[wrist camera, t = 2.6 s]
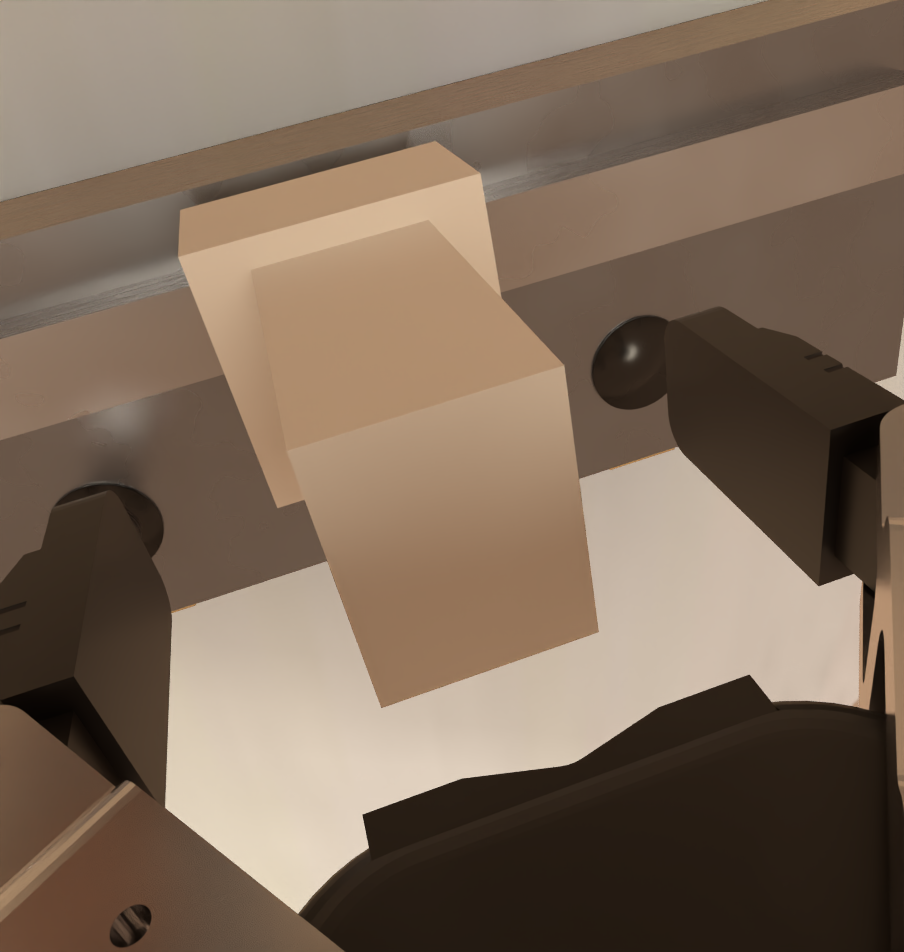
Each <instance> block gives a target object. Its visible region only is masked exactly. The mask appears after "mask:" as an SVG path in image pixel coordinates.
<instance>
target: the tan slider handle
mask: <svg viewBox="0 0 904 952" xmlns="http://www.w3.org/2000/svg"><path fill="white" fill-rule="evenodd" d="M178 258H179V261H180V263H181V266H182V268H183V271H184V273H185V276H186V278H187V281H188V283H189V286H190V289H191V291H192V294H193V296H194V299H195V301H196V304H197V306H198V309H199V311H200V314H201V316H202V319H203V321H204V324H205V326H206V329H207V331H208V334H209V337H210V339H211V342H212V344H213V347H214V349H215V352H216V354H217V357H218V359H219V362H220V364H221V367H222V369H223V372H224V374H225V377H226V379H227V382H228V385H229V387H230V390H231V392H232V395H233V397H234V400H235V402H236V405H237V407H238V410H239V412H240V415H241V417H242V420H243V422H244V425H245V427H246V430H247V433H248V435H249V438H250V440H251V443H252V445H253V448H254V450H255V453H256V455H257V458H258V460H259V463H260V465H261V468H262V470H263V473H264V475H265V478H266V480H267V483H268V486H269V488H270V491H271V493H272V496H273V498H274V501H275V503H276V506H277V508H280V507H283V506H286V505H289V504H293V503H296V502H299V501H302V500H305V502H306V505H307V508H308V510H309V513H310V516H311V518H312V521H313V524H314V527H315V529H316V532H317V535H318V537H319V540H320V543H321V546H322V548H323V551H324V554H325V556H326V559H327V562H328V564H329V567H330V570H331V573H332V575H333V578H334V581H335V583H336V586H337V589H338V592H339V594H340V597H341V600H342V602H343V605H344V608H345V611H346V613H347V616H348V619H349V621H350V624H351V627H352V629H353V632H354V635H355V638H356V640H357V643H358V646H359V648H360V651H361V654H362V657H363V659H364V662H365V665H366V667H367V670H368V673H369V675H370V678H371V681H372V684H373V686H374V689H375V692H376V694H377V697H378V700H379V703H380V705H381V708H383V707H386V706H389V705H391V704H394V703H397V702H400V701H403V700H406V699H409V698H411V697H414V696H417V695H420V694H423V693H426V692H429V691H431V690H434V689H437V688H440V687H443V686H446V685H449V684H451V683H454V682H457V681H460V680H463V679H466V678H469V677H472V676H474V675H477V674H480V673H483V672H486V671H489V670H492V669H494V668H497V667H500V666H503V665H506V664H509V663H512V662H514V661H517V660H520V659H523V658H526V657H529V656H532V655H534V654H537V653H540V652H543V651H546V650H549V649H552V648H554V647H557V646H560V645H563V644H566V643H569V642H572V641H574V640H577V639H580V638H583V637H586V636H589V635H592V634H595V633H597V632H599V631H598V623H597V616H596V608H595V600H594V592H593V584H592V577H591V569H590V561H589V553H588V546H587V538H586V530H585V522H584V515H583V507H582V499H581V491H580V484H579V476H578V468H577V460H576V453H575V445H574V437H573V429H572V422H571V414H570V406H569V398H568V390H567V383H566V375H565V367H564V365H563V363H562V362H561V361H560V360H559V359H558V358H557V357H556V356H555V355H554V354H553V353H552V352H551V351H550V350H549V348H548V347H547V346H546V345H545V344H544V343H543V342H542V341H541V340H540V339H539V338H538V337H537V336H536V335H535V333H534V332H533V331H532V330H531V329H530V328H529V327H528V326H527V325H526V324H525V323H524V322H523V321H522V320H521V318H520V317H519V316H518V315H517V314H516V313H515V312H514V311H513V310H512V309H511V308H510V307H509V306H508V304H507V303H506V302H505V301H504V300H503V299H502V298H501V292H500V286H499V280H498V274H497V268H496V262H495V256H494V250H493V244H492V238H491V232H490V227H489V221H488V215H487V209H486V203H485V197H484V191H483V185H482V179H481V173H480V172H478V171H477V170H475V169H474V168H473V167H471V166H470V165H468V164H467V163H466V162H464V161H463V160H461V159H460V158H459V157H457V156H456V155H454V154H453V153H452V152H450V151H449V150H447V149H446V148H445V147H443V146H442V145H440V144H439V143H438V142H436V141H433V142H430V143H426V144H422V145H419V146H415V147H411V148H407V149H404V150H400V151H396V152H393V153H389V154H385V155H382V156H378V157H374V158H370V159H367V160H363V161H359V162H356V163H352V164H348V165H345V166H341V167H337V168H333V169H330V170H326V171H322V172H319V173H315V174H311V175H308V176H304V177H300V178H296V179H293V180H289V181H285V182H282V183H278V184H274V185H271V186H267V187H263V188H259V189H256V190H252V191H248V192H245V193H241V194H237V195H234V196H230V197H226V198H222V199H219V200H215V201H211V202H208V203H204V204H200V205H197V206H193V207H189V208H185V209H182V210H180V224H179V246H178Z"/></svg>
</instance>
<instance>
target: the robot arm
mask: <svg viewBox="0 0 904 952" xmlns="http://www.w3.org/2000/svg"><path fill="white" fill-rule="evenodd" d="M664 345H665V364H666V383H667V402H668V417H669V423H670V427H671V431H672V434H673V436H674V439H675V441H676V443H677V445H678V447H679V448H680V450H681V451H682V453H683V454H684V455H685V456H686V457H687V458H688V459H689V460H690V461H691V462H692V463H693V464H694V465H695V466H696V467H697V468H698V469H699V470H700V471H701V472H702V473H703V474H704V475H705V476H707V477H708V478H709V479H710V480H711V481H712V482H713V483H714V484H715V485H716V486H717V487H718V488H719V489H720V490H721V491H722V492H723V493H724V494H725V495H726V496H727V497H728V498H729V499H730V500H731V501H732V502H733V503H734V504H735V505H736V506H737V507H738V508H739V509H740V510H741V511H742V512H743V513H744V514H745V515H746V516H747V517H748V518H749V519H750V520H751V521H753V522H754V523H755V524H756V525H757V526H758V527H759V528H760V529H761V530H762V531H763V532H764V533H765V534H766V535H767V536H768V537H769V538H770V539H771V540H772V541H773V542H774V543H775V544H776V545H777V546H778V547H779V548H780V549H781V550H782V551H783V552H784V553H785V554H786V555H787V556H788V557H789V558H790V559H791V560H792V561H793V562H794V563H795V564H796V565H797V566H799V567H800V568H801V569H802V570H803V571H804V572H805V573H806V574H807V575H808V576H809V577H810V578H811V579H812V580H813V581H814V582H815V583H816V584H817V585H818V586H821V585H823V584H826V583H829V582H832V581H835V580H838V579H841V578H843V577H846V576H849V575H852V574H855V575H856V576H857V577H858V578H859V579H861V580H862V587H861V595H860V623H859V707H853V706H847V705H842V704H836V703H826V702H814V701H779V702H771V701H770V700H769V698H768V697H767V696H766V695H765V693H764V692H763V691H762V690H761V688H760V687H759V686H758V685H757V683H756V682H755V681H754V680H753V678H752V677H751V676H750V675H747V676H744V677H741V678H739V679H736V680H733V681H730V682H728V683H725V684H722V685H719V686H717V687H714V688H711V689H708V690H706V691H703V692H700V693H697V694H695V695H692V696H689V697H686V698H683V699H681V700H678V701H675V702H672V703H670V704H667V705H664V706H661V707H659V708H657V709H656V710H654V711H653V712H651V713H650V714H648V715H647V716H645V717H644V718H642V719H641V720H639V721H638V722H636V723H635V724H633V725H632V726H630V727H629V728H627V729H626V730H624V731H623V732H621V733H620V734H618V735H617V736H615V737H614V738H612V739H611V740H609V741H608V742H606V743H605V744H603V745H602V746H600V747H599V748H597V749H596V750H594V751H593V752H591V753H590V754H588V755H587V756H585V757H584V758H582V759H580V760H579V761H577V762H575V763H572V764H569V765H566V766H561V767H553V768H545V769H537V770H528V771H520V772H512V773H504V774H496V775H488V776H480V777H472V778H464V779H460V780H457V781H454V782H451V783H449V784H446V785H443V786H440V787H438V788H435V789H432V790H429V791H427V792H424V793H421V794H418V795H416V796H413V797H410V798H407V799H404V800H402V801H399V802H396V803H393V804H391V805H388V806H385V807H382V808H380V809H377V810H374V811H371V812H369V813H366V814H363V820H364V825H365V830H366V835H367V840H368V845H369V849H367V850H366V851H364V852H363V853H361V854H360V855H358V856H357V857H355V858H354V859H352V860H351V861H350V862H349V863H347V864H346V865H345V866H344V867H343V868H341V869H340V870H339V871H338V872H337V873H335V874H334V875H333V876H332V877H331V878H330V879H329V880H328V881H327V882H326V883H325V884H324V885H323V886H322V887H321V888H320V889H319V890H318V891H317V892H316V893H315V894H314V895H313V896H312V897H311V899H310V900H309V901H308V902H307V904H306V905H305V906H304V907H303V909H302V910H301V911H300V912H299V914H297V913H296V912H295V911H293V910H292V909H291V908H290V907H288V906H287V905H286V904H285V903H283V902H282V901H281V900H280V899H278V898H277V897H276V896H275V895H273V894H272V893H271V892H270V891H268V890H267V889H266V888H265V887H263V886H262V885H261V884H260V883H258V882H257V881H256V880H254V879H253V878H252V877H251V876H249V875H248V874H247V873H246V872H244V871H243V870H242V869H241V868H239V867H238V866H237V865H236V864H234V863H233V862H232V861H231V860H229V859H228V858H227V857H226V856H224V855H223V854H222V853H221V852H219V851H218V850H217V849H216V848H214V847H213V846H212V845H211V844H209V843H208V842H207V841H206V840H204V839H203V838H202V837H201V836H199V835H198V834H197V833H196V832H194V831H193V830H192V829H191V828H189V827H188V826H187V825H186V824H184V823H183V822H182V821H181V820H179V819H178V818H177V817H176V816H174V815H173V814H172V813H170V812H169V811H168V810H167V809H165V792H166V764H167V737H168V710H169V683H170V656H171V629H172V615H171V607H170V602H169V598H168V595H167V591H166V588H165V585H164V583H163V580H162V578H161V576H160V574H159V572H158V570H157V568H156V566H155V564H154V562H153V560H152V559H151V557H150V555H149V553H148V551H147V549H146V547H145V545H144V543H143V541H142V539H141V537H140V536H139V534H138V532H137V530H136V528H135V526H134V524H133V522H132V520H131V518H130V516H129V515H128V513H127V511H126V509H125V507H124V505H123V503H122V502H121V500H120V499H119V497H118V496H117V495H116V494H115V493H114V492H113V491H111V490H108V491H105V492H101V493H98V494H95V495H92V496H88V497H85V498H82V499H78V500H75V501H72V502H69V503H65V504H62V505H59V506H56V507H54V508H53V509H52V511H51V513H50V517H49V521H48V524H47V528H46V532H45V535H44V539H43V543H42V546H41V549H40V550H37V551H34V552H30V553H27V554H24V555H23V556H22V558H21V559H20V560H19V561H18V563H17V564H16V565H15V566H14V568H13V569H12V570H11V571H10V572H9V574H8V575H7V576H6V577H5V579H4V580H3V581H2V582H1V583H0V952H904V400H902V399H901V398H899V397H897V396H896V395H894V394H892V393H891V392H889V391H887V390H886V389H884V388H882V387H881V386H879V385H877V384H876V383H874V382H872V381H871V380H869V379H867V378H866V377H864V376H862V375H861V374H859V373H857V372H856V371H854V370H852V369H851V368H849V367H845V368H844V367H843V365H842V363H841V362H839V361H837V360H836V359H834V358H832V357H831V356H829V355H827V354H826V355H823V354H822V351H821V350H819V349H817V348H816V347H814V346H812V345H811V344H809V343H807V342H806V341H804V340H802V339H800V338H799V337H797V336H794V335H790V334H786V333H782V332H778V331H774V330H770V329H767V328H763V327H762V328H759V329H758V328H756V327H754V326H753V325H751V324H750V323H748V322H746V321H745V320H743V319H742V318H740V317H738V316H737V315H735V314H734V313H732V312H730V311H729V310H727V309H726V308H724V307H720V306H718V307H714V308H711V309H707V310H704V311H701V312H697V313H694V314H691V315H688V316H684V317H681V318H678V319H674V320H671V321H670V322H669V323H668V324H667V326H666V329H665V335H664Z"/></svg>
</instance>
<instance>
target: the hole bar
mask: <svg viewBox="0 0 904 952" xmlns="http://www.w3.org/2000/svg"><path fill="white" fill-rule="evenodd" d="M433 141H436V142H438V143H439V144H440V145H442V146H443V147H445V148H446V149H447V150H449V151H450V152H452V153H453V154H454V155H456V156H457V157H459V158H460V159H461V160H463V161H464V162H466V163H467V164H468V165H470V166H471V167H473V168H474V169H475V170H477V171H478V172H480V173H481V179H482V185H483V191H484V197H485V203H486V209H487V215H488V221H489V227H490V232H491V238H492V244H493V250H494V256H495V262H496V268H497V274H498V280H499V286H500V292H501V298H502V299H503V300H504V301H505V302H506V303H507V304H508V306H509V307H510V308H511V309H512V310H513V311H514V312H515V313H516V314H517V315H518V316H519V317H520V318H521V320H522V321H523V322H524V323H525V324H526V325H527V326H528V327H529V328H530V329H531V330H532V331H533V332H534V333H535V335H536V336H537V337H538V338H539V339H540V340H541V341H542V342H543V343H544V344H545V345H546V346H547V347H548V348H549V350H550V351H551V352H552V353H553V354H554V355H555V356H556V357H557V358H558V359H559V360H560V361H561V362H562V363H563V365H564V367H565V375H566V383H567V390H568V398H569V406H570V414H571V422H572V429H573V437H574V445H575V453H576V460H577V468H578V476H579V479H580V478H583V477H586V476H589V475H592V474H595V473H598V472H601V471H604V470H608V469H610V470H612V469H615V468H618V467H621V466H624V465H627V464H630V463H633V462H636V461H639V460H642V459H646V458H649V457H652V456H655V455H658V454H661V453H664V452H667V451H670V450H673V449H674V448H675V447H678V445H677V443H676V441H675V439H674V436H673V434H672V431H671V427H670V423H669V417H668V402H667V383H666V364H665V345H664V335H665V329H666V326H667V324H668V323H669V322H670V321H671V320H674V319H678V318H681V317H684V316H688V315H691V314H694V313H697V312H701V311H704V310H707V309H711V308H714V307H718V306H720V307H724V308H726V309H727V310H729V311H730V312H732V313H734V314H735V315H737V316H738V317H740V318H742V319H743V320H745V321H746V322H748V323H750V324H751V325H753V326H754V327H756V328H758V329H759V328H762V327H763V328H767V329H770V330H774V331H778V332H782V333H786V334H790V335H794V336H797V337H799V338H800V339H802V340H804V341H806V342H807V343H809V344H811V345H812V346H814V347H816V348H817V349H819V350H821V351H822V354H823V355H826V354H827V355H829V356H831V357H832V358H834V359H836V360H837V361H839V362H841V363H842V365H843V367H844V368H845V367H849V368H851V369H852V370H854V371H856V372H857V373H859V374H861V375H862V376H864V377H866V378H867V379H869V380H871V381H872V382H878V381H881V380H884V379H887V378H890V377H893V376H896V372H897V365H898V357H899V349H900V341H901V334H902V326H903V318H904V0H768V1H764V2H760V3H757V4H753V5H749V6H745V7H741V8H738V9H734V10H730V11H726V12H722V13H719V14H715V15H711V16H707V17H703V18H699V19H696V20H692V21H688V22H684V23H680V24H677V25H673V26H669V27H665V28H661V29H658V30H654V31H650V32H646V33H642V34H639V35H635V36H631V37H627V38H623V39H619V40H616V41H612V42H608V43H604V44H600V45H597V46H593V47H589V48H585V49H581V50H578V51H574V52H570V53H566V54H562V55H559V56H555V57H551V58H547V59H543V60H540V61H536V62H532V63H528V64H524V65H520V66H517V67H513V68H509V69H505V70H501V71H498V72H494V73H490V74H486V75H482V76H479V77H475V78H471V79H467V80H463V81H460V82H456V83H452V84H448V85H444V86H440V87H437V88H433V89H429V90H425V91H421V92H418V93H414V94H410V95H406V96H402V97H399V98H395V99H391V100H387V101H383V102H380V103H376V104H372V105H368V106H364V107H361V108H357V109H353V110H349V111H345V112H341V113H338V114H334V115H330V116H326V117H322V118H319V119H315V120H311V121H307V122H303V123H300V124H296V125H292V126H288V127H284V128H281V129H277V130H273V131H269V132H265V133H261V134H258V135H254V136H250V137H246V138H242V139H239V140H235V141H231V142H227V143H223V144H220V145H216V146H212V147H208V148H204V149H201V150H197V151H193V152H189V153H185V154H181V155H178V156H174V157H170V158H166V159H162V160H159V161H155V162H151V163H147V164H143V165H140V166H136V167H132V168H128V169H124V170H121V171H117V172H113V173H109V174H105V175H102V176H98V177H94V178H90V179H86V180H82V181H79V182H75V183H71V184H67V185H63V186H60V187H56V188H52V189H48V190H44V191H41V192H37V193H33V194H29V195H25V196H22V197H18V198H14V199H10V200H6V201H2V202H0V583H1V582H2V581H3V580H4V579H5V577H6V576H7V575H8V574H9V572H10V571H11V570H12V569H13V568H14V566H15V565H16V564H17V563H18V561H19V560H20V559H21V558H22V556H23V555H24V554H27V553H30V552H34V551H37V550H40V549H41V546H42V543H43V539H44V535H45V532H46V528H47V524H48V521H49V517H50V513H51V511H52V509H53V508H54V507H56V506H59V505H62V504H65V503H69V502H72V501H75V500H78V499H82V498H85V497H88V496H92V495H95V494H98V493H101V492H105V491H108V490H111V491H113V492H114V493H115V494H116V495H117V496H118V497H119V499H120V500H121V502H122V503H123V505H124V507H125V509H126V511H127V513H128V515H129V516H130V518H131V520H132V522H133V524H134V526H135V528H136V530H137V532H138V534H139V536H140V537H141V539H142V541H143V543H144V545H145V547H146V549H147V551H148V553H149V555H150V557H151V559H152V560H153V562H154V564H155V566H156V568H157V570H158V572H159V574H160V576H161V578H162V580H163V583H164V585H165V588H166V591H167V595H168V598H169V602H170V607H171V613H173V612H176V611H179V610H183V609H186V608H189V607H192V606H195V605H196V603H199V602H203V601H206V600H209V599H212V598H215V597H218V596H221V595H224V594H227V593H230V592H233V591H236V590H239V589H242V588H245V587H249V586H252V585H255V584H258V583H261V582H264V581H267V580H270V579H273V578H276V577H279V576H282V575H285V574H288V573H292V572H295V571H298V570H301V569H304V568H307V567H310V566H313V565H316V564H319V563H322V562H325V561H327V559H326V556H325V554H324V551H323V548H322V546H321V543H320V540H319V537H318V535H317V532H316V529H315V527H314V524H313V521H312V518H311V516H310V513H309V510H308V508H307V505H306V502H305V500H302V501H299V502H296V503H293V504H289V505H286V506H283V507H280V508H277V506H276V503H275V501H274V498H273V496H272V493H271V491H270V488H269V486H268V483H267V480H266V478H265V475H264V473H263V470H262V468H261V465H260V463H259V460H258V458H257V455H256V453H255V450H254V448H253V445H252V443H251V440H250V438H249V435H248V433H247V430H246V427H245V425H244V422H243V420H242V417H241V415H240V412H239V410H238V407H237V405H236V402H235V400H234V397H233V395H232V392H231V390H230V387H229V385H228V382H227V379H226V377H225V374H224V372H223V369H222V367H221V364H220V362H219V359H218V357H217V354H216V352H215V349H214V347H213V344H212V342H211V339H210V337H209V334H208V331H207V329H206V326H205V324H204V321H203V319H202V316H201V314H200V311H199V309H198V306H197V304H196V301H195V299H194V296H193V294H192V291H191V289H190V286H189V283H188V281H187V278H186V276H185V273H184V271H183V268H182V266H181V263H180V261H179V258H178V246H179V224H180V210H182V209H185V208H189V207H193V206H197V205H200V204H204V203H208V202H211V201H215V200H219V199H222V198H226V197H230V196H234V195H237V194H241V193H245V192H248V191H252V190H256V189H259V188H263V187H267V186H271V185H274V184H278V183H282V182H285V181H289V180H293V179H296V178H300V177H304V176H308V175H311V174H315V173H319V172H322V171H326V170H330V169H333V168H337V167H341V166H345V165H348V164H352V163H356V162H359V161H363V160H367V159H370V158H374V157H378V156H382V155H385V154H389V153H393V152H396V151H400V150H404V149H407V148H411V147H415V146H419V145H422V144H426V143H430V142H433Z"/></svg>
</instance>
